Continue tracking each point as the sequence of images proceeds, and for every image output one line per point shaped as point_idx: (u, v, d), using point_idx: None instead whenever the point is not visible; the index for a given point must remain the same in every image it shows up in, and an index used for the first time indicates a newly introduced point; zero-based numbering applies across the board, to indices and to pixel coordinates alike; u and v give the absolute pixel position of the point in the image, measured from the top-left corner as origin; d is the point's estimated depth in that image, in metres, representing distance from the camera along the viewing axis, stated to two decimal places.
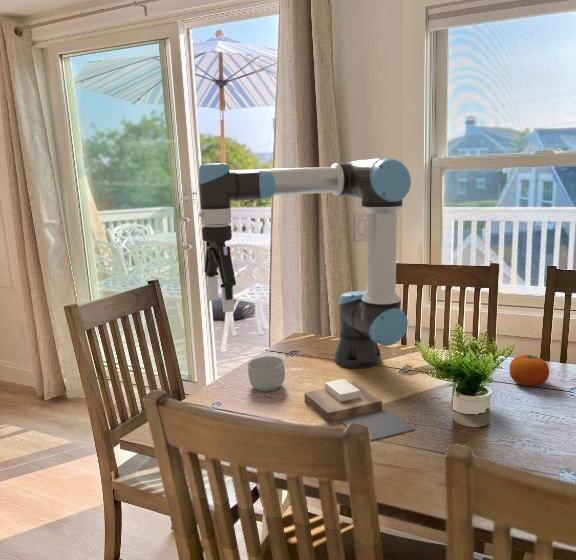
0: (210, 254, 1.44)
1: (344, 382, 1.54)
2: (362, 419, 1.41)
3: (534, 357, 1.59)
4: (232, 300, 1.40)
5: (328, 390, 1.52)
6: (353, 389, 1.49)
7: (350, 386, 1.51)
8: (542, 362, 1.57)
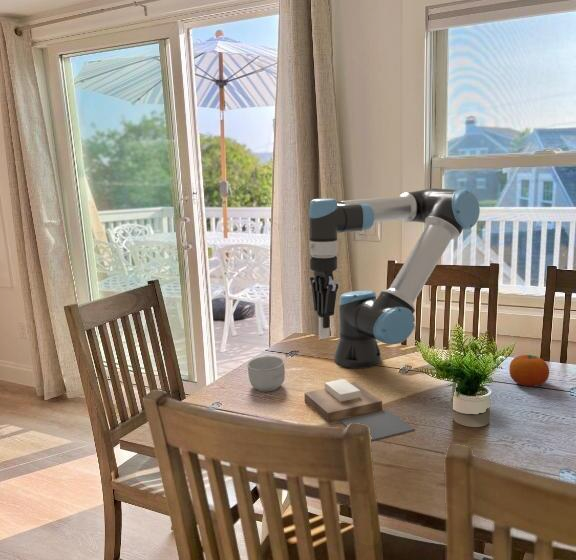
0: (317, 282, 1.54)
1: (344, 382, 1.54)
2: (362, 419, 1.41)
3: (534, 357, 1.59)
4: (328, 328, 1.57)
5: (328, 390, 1.52)
6: (353, 389, 1.49)
7: (350, 386, 1.51)
8: (542, 362, 1.57)
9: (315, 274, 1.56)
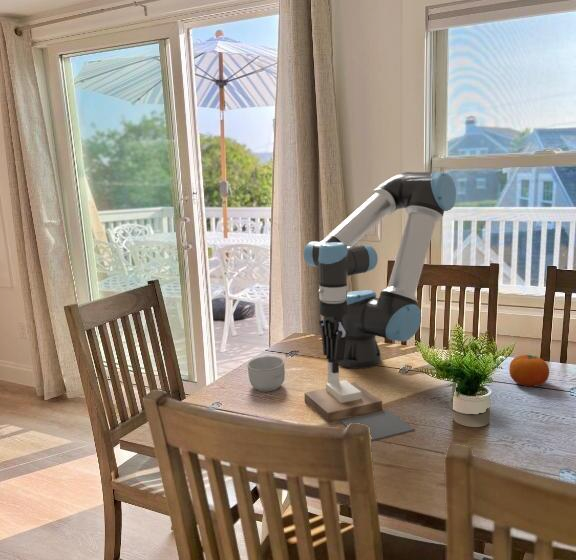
0: (326, 327, 1.52)
1: (345, 383, 1.53)
2: (362, 419, 1.41)
3: (534, 357, 1.59)
4: (338, 373, 1.54)
5: (329, 391, 1.52)
6: (354, 390, 1.48)
7: (351, 387, 1.50)
8: (542, 362, 1.57)
9: (324, 318, 1.54)
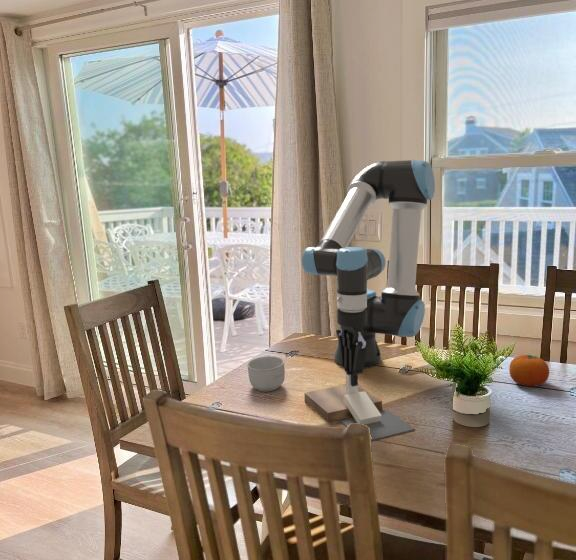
0: (345, 337, 1.43)
1: (365, 398, 1.43)
2: None
3: (534, 357, 1.59)
4: (356, 386, 1.45)
5: (347, 405, 1.42)
6: (374, 412, 1.39)
7: (371, 406, 1.41)
8: (542, 362, 1.57)
9: (342, 327, 1.44)
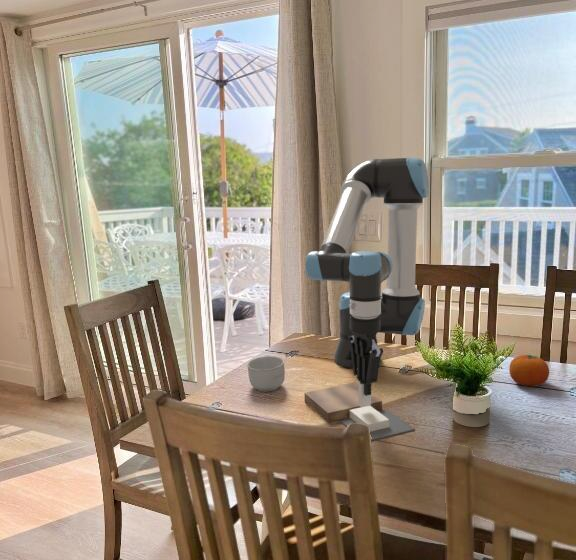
0: (357, 345, 1.37)
1: (371, 409, 1.42)
2: None
3: (534, 357, 1.59)
4: (370, 395, 1.40)
5: (353, 418, 1.40)
6: (381, 418, 1.37)
7: (378, 414, 1.39)
8: (542, 362, 1.57)
9: (355, 334, 1.39)
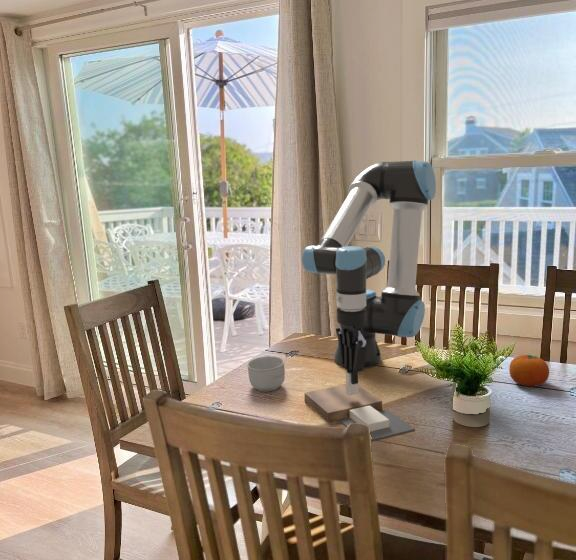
0: (345, 336, 1.44)
1: (371, 409, 1.42)
2: None
3: (534, 357, 1.59)
4: (357, 383, 1.46)
5: (353, 418, 1.40)
6: (381, 418, 1.37)
7: (378, 414, 1.39)
8: (542, 362, 1.57)
9: (342, 326, 1.45)
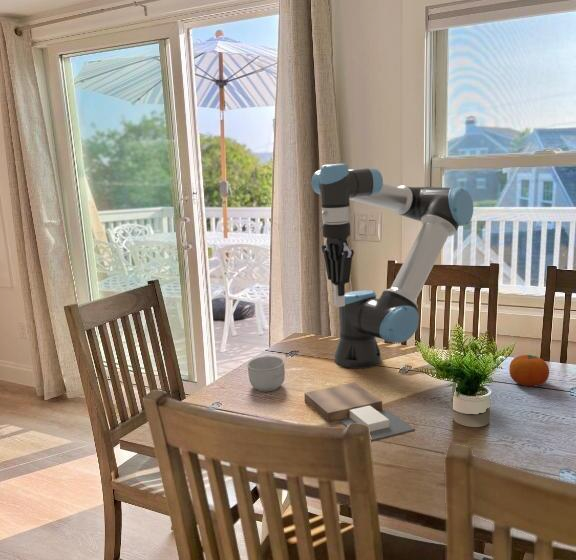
0: (330, 250, 1.52)
1: (371, 409, 1.42)
2: None
3: (534, 357, 1.59)
4: (343, 296, 1.55)
5: (353, 418, 1.40)
6: (381, 418, 1.37)
7: (378, 414, 1.39)
8: (542, 362, 1.57)
9: (327, 242, 1.54)
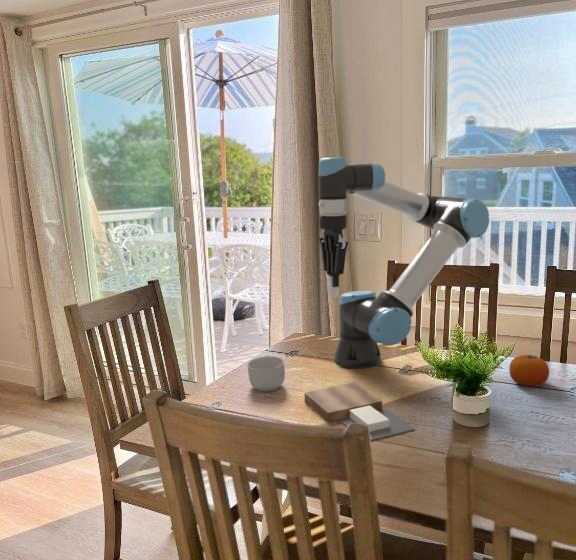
0: (327, 241, 1.56)
1: (371, 409, 1.42)
2: None
3: (534, 357, 1.59)
4: (338, 287, 1.58)
5: (353, 418, 1.40)
6: (381, 418, 1.37)
7: (378, 414, 1.39)
8: (542, 362, 1.57)
9: (324, 234, 1.57)
